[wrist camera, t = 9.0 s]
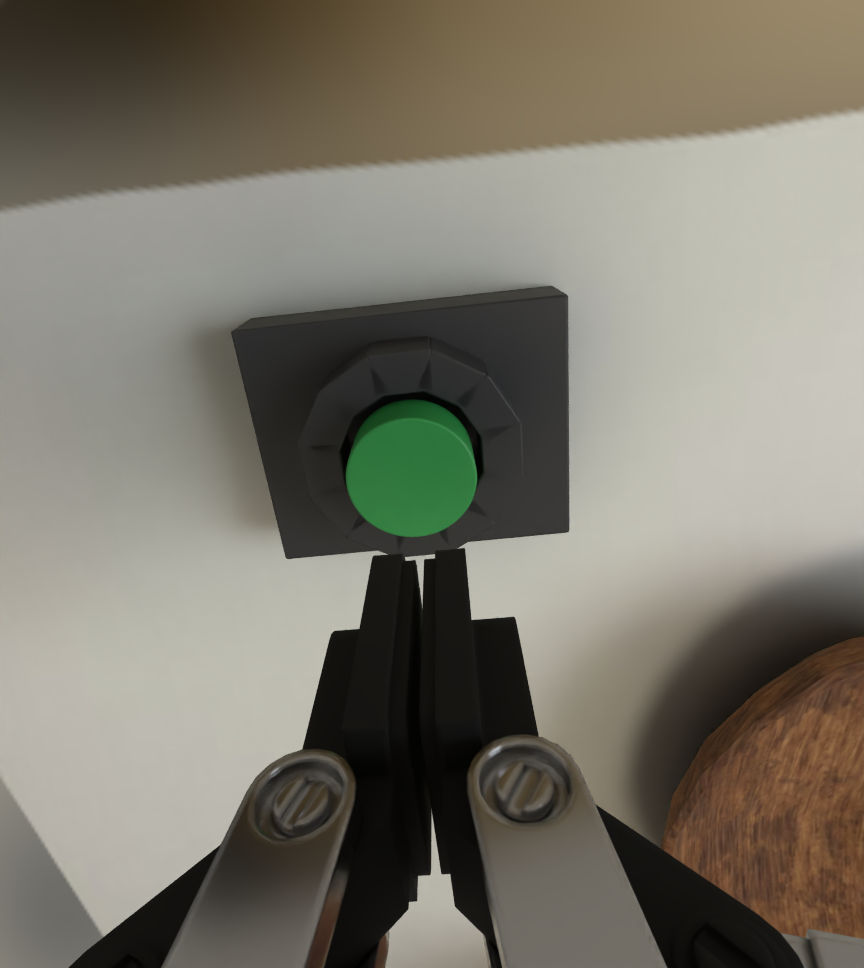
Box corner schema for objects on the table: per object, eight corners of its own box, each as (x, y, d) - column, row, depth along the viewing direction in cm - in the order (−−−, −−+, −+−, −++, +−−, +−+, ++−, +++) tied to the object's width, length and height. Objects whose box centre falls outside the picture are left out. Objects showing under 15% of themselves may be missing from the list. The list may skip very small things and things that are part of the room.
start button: (362, 515, 19) (356, 543, 17) (343, 405, 17) (334, 425, 15) (476, 503, 18) (481, 531, 17) (467, 392, 17) (472, 411, 15)
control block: (297, 529, 23) (273, 589, 19) (249, 318, 19) (209, 343, 16) (557, 504, 23) (582, 560, 19) (553, 285, 19) (583, 303, 16)
